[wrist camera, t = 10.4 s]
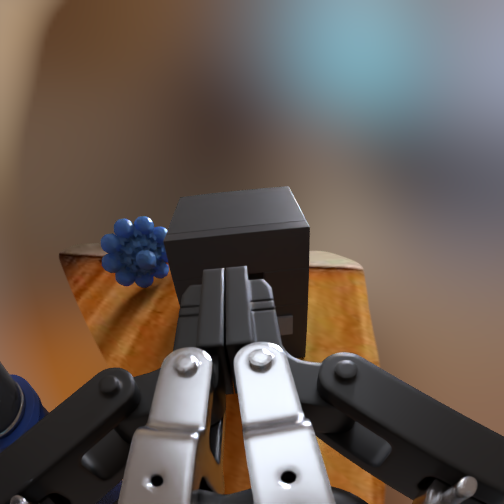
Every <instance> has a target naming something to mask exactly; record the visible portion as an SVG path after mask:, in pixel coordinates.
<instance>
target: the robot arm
mask: <svg viewBox="0 0 504 504" xmlns="http://www.w3.org/2000/svg"><path fill="white" fill-rule="evenodd" d="M233 383H234V388H235V393H236V394H237V393H238V399H239V406H240V413H241V419H242V427H243V438H244V445H245V451H246V458H247V464H248V470H249V476H250V482H251V489H248V490H244V491H241V492H237V493H233V494H229V495H224V476H223V454H224V439H225V425H226V412H225V411H226V394H233ZM25 407H26V398H25V394H24V392H23V390H22V388H21V387H20V386H19V385H18V383H17V382H16V381H14V379H13V378H12V377H11V376H10V374H9V373H8V372H7V371H6V369H5V368H4V366H3V365H2V364H1V362H0V440H1V439H3V438H5V437H7V436H8V435H10V434H11V433H12V432H13V431H14V430H15V429H16V428H17V426H18V425H19V424H20V422H21V420H22V418H23V415H24V412H25ZM315 435H316V436H317V437H318V438H319V439H321V440H322V441H324V442H325V443H326V444H328V445H329V446H330V447H332V448H333V449H335V450H336V451H337V452H339V453H340V454H342V455H343V456H345V457H346V458H347V459H349V460H350V461H352V462H353V463H355V464H356V465H358V466H359V467H361V468H362V469H364V470H365V471H367V472H368V473H370V474H371V475H373V476H374V477H376V478H378V479H379V480H381V481H382V482H384V483H385V484H387V485H389V486H390V487H392V488H394V489H395V490H397V491H399V492H400V493H402V494H404V495H405V496H407V497H409V498H410V499H412V500H413V503H412V504H504V436H502V435H500V434H498V433H496V432H494V431H492V430H490V429H488V428H487V427H484V426H483V425H481V424H479V423H477V422H475V421H473V420H472V419H470V418H468V417H466V416H464V415H462V414H460V413H459V412H457V411H455V410H453V409H451V408H450V407H448V406H446V405H444V404H442V403H441V402H438V401H437V400H435V399H433V398H432V397H430V396H428V395H426V394H424V393H422V392H421V391H419V390H417V389H416V388H414V387H412V386H410V385H409V384H407V383H405V382H403V381H402V380H399V379H398V378H396V377H395V376H393V375H391V374H389V373H388V372H386V371H384V370H383V369H381V368H379V367H377V366H376V365H374V364H372V363H371V362H369V361H367V360H366V359H364V358H362V357H360V356H358V355H356V354H353V353H346V352H342V353H336V354H333V355H331V356H329V357H327V358H326V359H325V360H324V361H323V362H322V363H316V362H308V361H303V360H299V359H297V358H295V357H293V356H291V355H290V354H289V353H288V352H287V351H286V350H285V349H284V347H283V345H282V341H281V335H280V330H279V325H278V319H277V314H276V309H275V303H274V298H273V292H272V287H271V286H270V285H269V284H268V283H267V282H266V281H265V280H264V279H257V280H248V272H247V266H240V267H229V268H226V272H225V268H218V269H207V270H203V277H202V285H190V286H189V287H188V288H187V290H186V291H185V292H184V294H183V295H182V299H181V305H180V311H179V318H178V323H177V329H176V335H175V342H174V349H173V352H172V353H170V354H169V355H168V356H167V357H166V358H165V359H164V361H163V363H162V366H161V368H159V369H158V370H156V371H153V372H150V373H147V374H143V375H140V376H136V377H132V375H131V374H130V373H129V372H128V371H126V370H124V369H122V368H109V369H105V370H103V371H101V372H100V373H98V374H97V375H95V376H94V377H93V378H92V379H91V380H89V381H88V382H87V383H86V384H84V385H83V386H82V387H81V388H79V389H78V390H77V391H76V392H75V393H73V394H72V395H71V396H70V397H68V398H67V399H66V400H65V401H64V402H62V403H61V404H60V405H59V406H57V407H56V408H55V409H54V410H52V411H51V412H50V413H49V414H47V415H46V416H45V417H44V418H43V419H41V420H40V421H39V422H38V423H36V424H35V425H34V426H33V427H32V428H30V429H29V430H28V431H27V432H25V433H24V434H23V435H22V436H21V437H19V438H18V439H17V440H16V441H14V442H13V443H12V444H11V445H10V446H8V447H7V448H6V449H5V450H3V451H2V452H1V453H0V504H95V503H96V502H98V501H99V500H100V499H101V498H102V497H103V496H104V495H106V494H107V493H108V492H109V491H110V490H111V489H112V488H113V487H115V486H116V485H117V484H118V483H119V482H120V481H121V480H122V479H123V482H122V486H121V491H120V496H119V500H117V501H116V502H114V503H113V504H368V503H366V502H365V501H364V500H362V499H361V498H359V497H358V496H356V495H354V494H352V493H350V492H347V491H345V490H342V489H339V488H335V487H331V486H330V482H329V479H328V476H327V472H326V469H325V466H324V462H323V459H322V456H321V452H320V449H319V446H318V442H317V439H316V436H315Z"/></svg>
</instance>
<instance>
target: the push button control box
mask: <svg viewBox="0 0 504 504" xmlns="http://www.w3.org/2000/svg"><path fill="white" fill-rule="evenodd" d="M309 237H310V227H309V225H308V223H307V221H306V219H305V218H304V215H303V213H302V211H301V209H300V208H299V206H298V204H297V202H296V200H295V198H294V196H293V194H292V192H291V190H290V188H289V187H288V186H286V187H274V188H262V189H252V190H242V191H231V192H221V193H212V194H204V195H195V196H187V197H180V199H179V202H178V204H177V207H176V210H175V212H174V215H173V217H172V220H171V223H170V225H169V228H168V231H167V233H166V236H165V238H164V241H163V242H164V247H165V251H166V255H167V259H168V263H169V267H170V271H171V275H172V279H173V282H174V286H175V290H176V294H177V297H178V301H179V305H181V299H182V295H183V294H184V292H185V291H186V290H187V288H188V287H189V286H190V285H202V277H203V270H207V269H218V268H225V272H226V268H229V267H240V266H247V272H248V280H257V279H264V280H265V281H266V282H267V283H268V284H269V285H270V286H271V287H272V292H273V298H274V303H275V309H276V314H277V319H278V325H279V330H280V335H281V341H282V345H283V347H284V349H285V350H286V351H287V352H288V353H289V354H290V355H291V356H293V357H295V358H300V357H305V350H306V332H307V311H308V282H309Z"/></svg>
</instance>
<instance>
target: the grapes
mask: <svg viewBox="0 0 504 504" xmlns="http://www.w3.org/2000/svg"><path fill="white" fill-rule="evenodd" d="M114 232H115V234H116V235H117V236H116V235H114V234H106V235H104V236H103V237H102V239H101V247H102V249H103V250H104V251H105V252H107V253H109V254H106V255H105V256H104V257H103V258H102V267H103V268H104V269H105V270H106V271H108V272H110V273H116V274H115V276H116V280H117V282H118V283H119V284H121V285H123V286H129V285H131V284H133V283H134V281H135V283H136V284H137V285H138V286H140V287H142V288H147V287H149V286H150V285H152V283H153V276H154V277H156V278H164V277H165V276H167V274H168V272H169V267H168V265H167V264H166V263H165V262H168V259H167V255H166V251H165V247H164V242H163V241H164V238H165V236H166V233H167V229H165V228H163V227H155V228H154V223H153V222H152V220H151V219H150V218H148V217H146V216H142V217H138V218H137V219H136V220H135V222H134V225H133V224H132V222H131V221H129V220H127V219H119V220H118V221H116V223H115V224H114Z"/></svg>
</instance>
